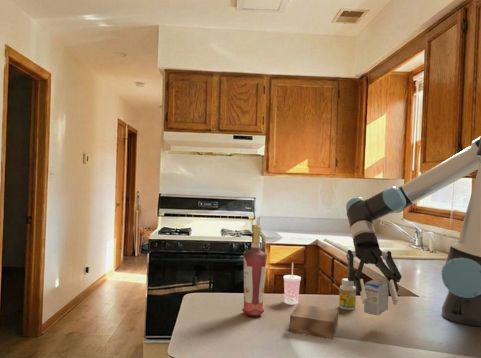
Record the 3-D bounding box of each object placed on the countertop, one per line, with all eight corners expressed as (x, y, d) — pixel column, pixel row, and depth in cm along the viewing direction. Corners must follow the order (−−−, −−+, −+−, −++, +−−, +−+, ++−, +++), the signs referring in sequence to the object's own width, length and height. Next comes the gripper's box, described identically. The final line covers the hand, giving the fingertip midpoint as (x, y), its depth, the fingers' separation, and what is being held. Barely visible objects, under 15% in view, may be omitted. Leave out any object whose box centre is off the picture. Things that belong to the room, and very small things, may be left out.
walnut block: (337, 326, 121) (338, 309, 121) (333, 340, 109) (333, 322, 109) (297, 320, 125) (298, 304, 125) (289, 333, 113) (290, 315, 113)
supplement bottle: (358, 309, 137) (359, 280, 137) (346, 310, 135) (347, 282, 135) (348, 304, 142) (349, 277, 142) (335, 306, 140) (336, 278, 140)
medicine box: (373, 306, 123) (374, 278, 124) (388, 310, 121) (389, 280, 121) (363, 312, 117) (364, 282, 117) (378, 316, 114) (379, 285, 115)
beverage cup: (299, 305, 138) (301, 264, 139) (281, 304, 140) (283, 263, 140) (300, 301, 144) (302, 261, 145) (283, 299, 146) (284, 260, 146)
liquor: (266, 318, 124) (270, 226, 125) (243, 318, 123) (247, 226, 123) (261, 310, 131) (265, 224, 132) (239, 311, 130) (243, 223, 131)
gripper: (393, 246, 135) (413, 309, 118) (330, 244, 135) (341, 307, 118) (400, 231, 129) (421, 295, 113) (334, 230, 129) (346, 293, 113)
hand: (380, 301), depth 116 cm, fingers closed on medicine box, 8 cm apart
